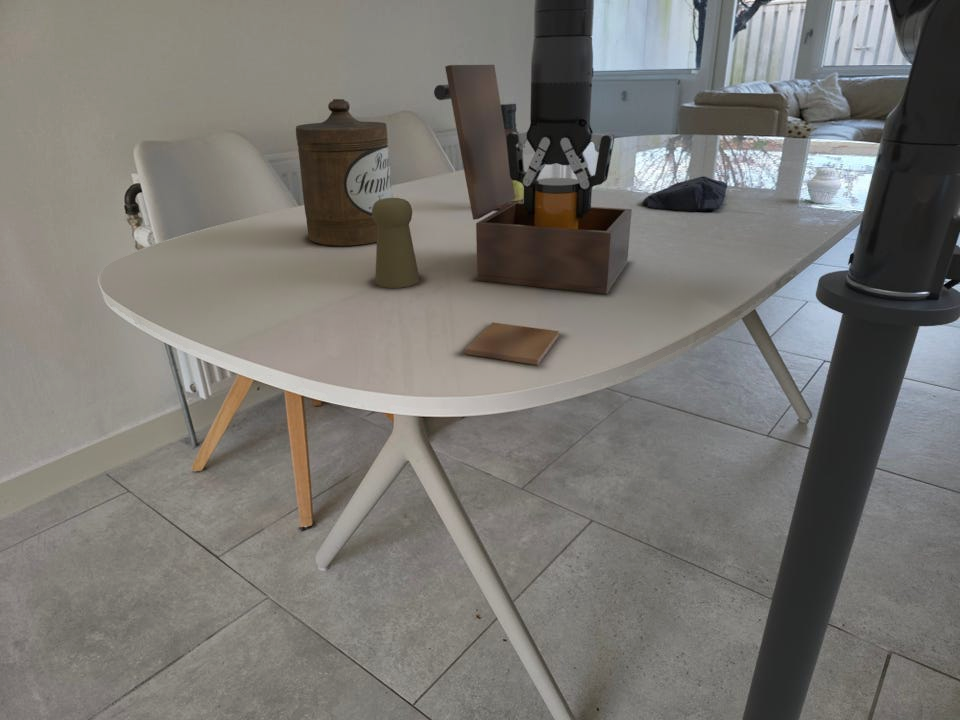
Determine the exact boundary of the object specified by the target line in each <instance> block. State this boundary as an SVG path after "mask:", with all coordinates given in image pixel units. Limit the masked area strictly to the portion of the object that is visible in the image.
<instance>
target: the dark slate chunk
mask: <svg viewBox="0 0 960 720" xmlns="http://www.w3.org/2000/svg"><path fill="white" fill-rule="evenodd" d="M727 188H728V183H727V182H724V181H721V180H717V179H713V178H711V177H708V176H704V175H703V176H698V177H695V178H691V179H688V180H683V181H679V182H677V183H674V184H671V185H669V187H666V188H663V189H661V190H658V191H656V192H653V193H651V194H649V195H648V196H646V197H645V198H644V199H643V201H642V205H644V206H647V208H649V209H659V210H661V209H662V210H670V211H681V212H682V211H683V212H709V211H710V212H715V211H717V210H719V209H720V208H721V205H723V202H724V199H725V197H726V194H727V193H726V192H727Z"/></svg>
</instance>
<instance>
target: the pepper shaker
mask: <svg viewBox="0 0 960 720" xmlns="http://www.w3.org/2000/svg"><path fill="white" fill-rule="evenodd" d="M372 217H373V220H374V222H375V223H376V224H377V225H378V227H377V242H376V251H375V252H376V254H375V255H376V256H375V276H374V277H375V279H374V283H375V285H377V286H378V287H381V288H388V289H401V288H408V287H412V286H414V285H417V284H418V283H419V282H420V275H419V274H420V273H419V269H418V263H417V259H416V258H417V257H416V254H415V248H414V244H413V239H412V233H411V228H410V223H411V221H412V218H413V208H412V204H411V203H410V202H409V201H408V200H407V199H406V198H405V199H404V198H400V197H393V198H385V199H381V200H378V201H376V202H375V203H374V205H373V207H372Z"/></svg>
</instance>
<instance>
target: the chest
mask: <svg viewBox="0 0 960 720" xmlns="http://www.w3.org/2000/svg"><path fill="white" fill-rule="evenodd" d="M632 210H633V209H632V208H621V207H620V208H619V207H603V206H602V207H601V206H591V209H590V211H589V212H588V213H587V214H586V215H585V216H584V217H583V218H579V227H578V229H569V228H556V227H542V226H534V214H528V210H525V208H524V203H521V202H512V203H511V204H509V205H507V206H506V207H504V208H502V209H498V210H497V211H495V212H494V213H492V214H490V215H488V216H486V217H484V218H483V219H480V220H479V221H477V222H476V223H475V235H476V236H475V237H476V241H475V242H476V279H477V281H478V282H479V281H481V282H489V283H499V284H506V285H516V286H525V287H526V286H527V287H535V288H545V289H554V290H556V289H557V290H563V291H573V292H581V293H590V294H600V295H608V292H609V291H610V290H611V288H612V286H613V285H614V284H615V282H616V281H617V279H618V278H619V276H620V275H621V273H622V272H623V270H624V268H625V267H626V265H627V264H628V260H629V259H628V257H629V246H630V235H631V234H630V233H631V223H632Z"/></svg>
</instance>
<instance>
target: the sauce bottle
mask: <svg viewBox="0 0 960 720" xmlns="http://www.w3.org/2000/svg"><path fill="white" fill-rule="evenodd" d="M500 104H501V110H502V116H503V123H504V129H505V135H506V136H507V135H508V134H510V133H513V132H518V129H517V120H516V119H517V118H516V115H517V114H516V112H517V103H516V102H503V103H501V102H500ZM522 154H523V155H524V148H523V149H522ZM513 186H514V193H515V199H514V200H512V201H510V202H508V203H506V204H505V205H503V206H501V207H499V208H497V209H496V210H500V209H502V208H504V207H506V206H507V205H509V204H511V203H512V202H521V203H524V186H523V184H522V183H520V182H518V181H516V180H515V181H514V180H513Z"/></svg>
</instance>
